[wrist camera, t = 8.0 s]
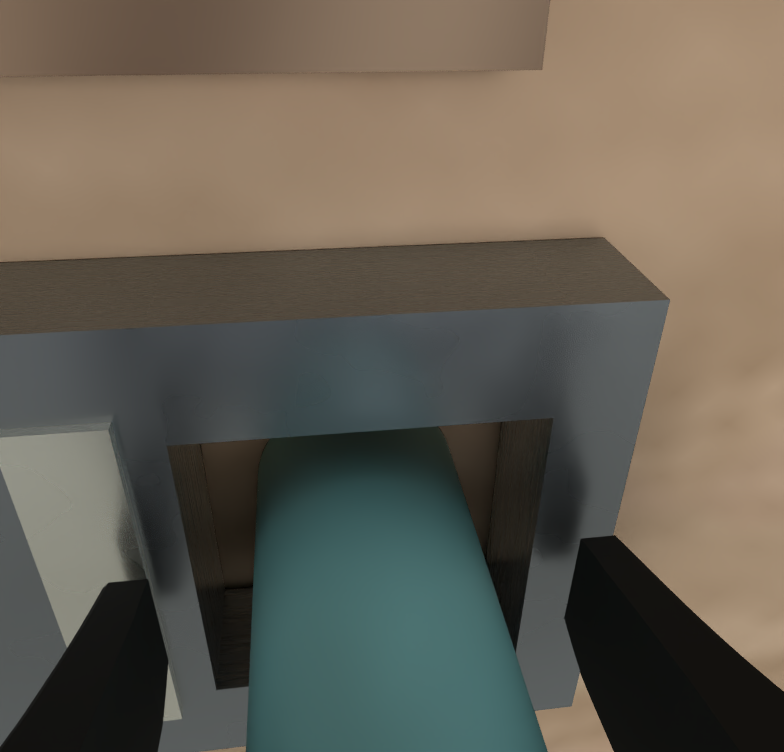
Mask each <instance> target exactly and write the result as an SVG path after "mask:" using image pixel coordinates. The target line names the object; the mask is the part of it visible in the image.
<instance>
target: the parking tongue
mask: <svg viewBox="0 0 784 752" xmlns="http://www.w3.org/2000/svg"><path fill="white" fill-rule="evenodd" d="M549 6H550V0H0V77H12V76H92V75H172V74H252V73H332V72H412V71H492V70H542V67H543V58H544V50H545V41H546V32H547V23H548V14H549Z"/></svg>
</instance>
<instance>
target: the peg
mask: <svg viewBox="0 0 784 752" xmlns="http://www.w3.org/2000/svg"><path fill="white" fill-rule="evenodd" d="M246 752H548V751H547V748H546V745H545V742H544V739H543V736H542V733H541V730H540V727H539V724H538V721H537V717H536V714H535V711H534V708H533V705H532V702H531V699H530V696H529V693H528V690H527V687H526V684H525V681H524V677H523V674H522V671H521V668H520V665H519V662H518V659H517V656H516V653H515V650H514V647H513V644H512V641H511V637H510V634H509V631H508V628H507V625H506V622H505V619H504V616H503V613H502V610H501V607H500V604H499V601H498V597H497V594H496V591H495V588H494V585H493V582H492V579H491V576H490V573H489V570H488V567H487V564H486V561H485V558H484V554H483V551H482V548H481V545H480V542H479V539H478V536H477V533H476V530H475V527H474V524H473V521H472V518H471V514H470V511H469V508H468V505H467V502H466V499H465V496H464V493H463V490H462V487H461V484H460V481H459V478H458V474H457V471H456V468H455V465H454V462H453V459H452V456H451V453H450V450H449V447H448V444H447V442H446V439H445V437H444V435H443V434H442V432H441V430H440V429H439V428H438V426H435V427H421V428H407V429H393V430H379V431H366V432H352V433H338V434H324V435H310V436H296V437H282V438H270V440H269V441H268V443H267V445H266V447H265V449H264V451H263V453H262V456H261V459H260V463H259V470H258V486H257V509H256V531H255V554H254V577H253V600H252V623H251V646H250V669H249V692H248V715H247V738H246Z"/></svg>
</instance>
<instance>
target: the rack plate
mask: <svg viewBox="0 0 784 752" xmlns="http://www.w3.org/2000/svg"><path fill="white" fill-rule="evenodd" d="M669 302H670V299H669V298H668V297H667V296H666V295H664V294H663V293H662V292H661V291H660V290H659V289H658V288H657V287H656V286H655V285H654V284H653V283H652V282H651V281H650V280H649V279H647V278H646V277H645V276H644V275H643V274H642V273H641V272H640V271H639V270H638V269H637V268H636V267H635V266H634V265H633V264H632V263H631V262H629V261H628V260H627V259H626V258H625V257H624V256H623V255H622V254H621V253H620V252H619V251H618V250H617V249H616V248H615V247H614V246H613V245H611V244H610V243H609V242H608V241H607V240H606V239H605V238H590V239H566V240H542V241H518V242H494V243H470V244H446V245H422V246H398V247H374V248H350V249H326V250H302V251H278V252H254V253H229V254H205V255H181V256H157V257H133V258H109V259H85V260H61V261H37V262H13V263H0V746H1V745H2V743H3V742H4V741H5V739H6V738H7V737H8V735H9V734H10V732H11V731H12V730H13V728H14V727H15V726H16V724H17V723H18V721H19V720H20V719H21V717H22V716H23V714H24V713H25V711H26V710H27V708H28V707H29V705H30V704H31V702H32V701H33V699H34V698H35V696H36V695H37V693H38V692H39V690H40V689H41V687H42V686H43V684H44V683H45V681H46V680H47V678H48V677H49V675H50V674H51V672H52V671H53V669H54V668H55V666H56V665H57V663H58V662H59V660H60V659H61V657H62V655H63V654H64V652H65V651H66V649H67V647H68V646H69V644H70V643H71V641H72V639H73V638H74V636H75V634H76V633H77V631H78V630H79V628H80V626H81V625H82V623H83V621H84V620H85V618H86V616H87V614H88V613H89V611H90V609H91V608H92V606H93V604H94V602H95V601H96V599H97V597H98V595H99V594H100V592H101V590H102V588H103V587H104V586H105V585H107V584H108V583H109V582H120V581H130V580H141V579H148V581H149V585H150V589H151V593H152V597H153V601H154V605H155V609H156V613H157V617H158V620H159V624H160V628H161V632H162V636H163V640H164V644H165V648H166V652H167V656H168V660H169V661H168V674H167V686H166V698H165V708H164V718H163V727H162V732H161V737H160V743H159V748H158V752H200V751H208V750H216V749H225V748H233V747H241V746H246V738H247V715H248V692H249V669H250V646H251V623H252V600H253V587H248V588H237V589H227V590H225V586H224V580H223V574H222V569H221V563H220V557H219V551H218V545H217V539H216V534H215V528H214V522H213V516H212V510H211V505H210V499H209V493H208V487H207V481H206V475H205V470H204V464H203V458H202V452H201V446H200V443H213V442H227V441H241V440H255V439H268V438H282V437H296V436H310V435H324V434H338V433H352V432H366V431H379V430H393V429H407V428H421V427H435V426H449V425H463V424H477V423H490V422H502V423H501V432H500V441H499V450H498V459H497V468H496V476H495V485H494V494H493V503H492V512H491V521H490V529H489V538H488V547H487V556H486V564H487V567H488V570H489V573H490V576H491V579H492V582H493V585H494V588H495V591H496V594H497V597H498V601H499V604H500V607H501V610H502V613H503V616H504V619H505V622H506V625H507V628H508V631H509V634H510V637H511V641H512V644H513V647H514V650H515V653H516V656H517V659H518V662H519V665H520V668H521V671H522V674H523V677H524V681H525V684H526V687H527V690H528V693H529V696H530V699H531V702H532V705H533V708H534V711H537V710H545V709H553V708H561V707H569V706H572V702H573V698H574V694H575V690H576V686H577V681H578V677H579V673H580V670H579V666H578V663H577V660H576V657H575V654H574V651H573V647H572V644H571V640H570V637H569V633H568V630H567V626H566V623H565V619H564V616H565V611H566V607H567V602H568V597H569V592H570V588H571V583H572V578H573V573H574V569H575V564H576V559H577V554H578V549H579V545H580V540H581V538H592V537H603V536H613V533H614V529H615V525H616V521H617V516H618V512H619V508H620V504H621V500H622V496H623V492H624V488H625V483H626V479H627V475H628V471H629V467H630V463H631V459H632V455H633V451H634V446H635V442H636V438H637V434H638V430H639V426H640V422H641V418H642V413H643V409H644V405H645V401H646V397H647V393H648V389H649V385H650V380H651V376H652V372H653V368H654V364H655V360H656V356H657V352H658V347H659V343H660V339H661V335H662V331H663V327H664V323H665V319H666V314H667V310H668V306H669Z"/></svg>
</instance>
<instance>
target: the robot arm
mask: <svg viewBox="0 0 784 752" xmlns="http://www.w3.org/2000/svg"><path fill="white" fill-rule="evenodd" d="M564 619H565V623H566V626H567V630H568V633H569V637H570V640H571V644H572V647H573V651H574V654H575V657H576V660H577V663H578V666H579V670H580V673H581V676H582V678H583V681H584V683H585V686H586V688H587V690H588V693H589V695H590V697H591V700H592V702H593V704H594V707H595V709H596V711H597V714H598V716H599V718H600V721H601V723H602V725H603V728H604V730H605V732H606V735H607V737H608V739H609V741H610V744H611V746H612V748H613V751H614V752H784V691H782V690H781V689H780V688H779V687H777V686H776V685H775V684H774V683H773V682H771V681H770V680H769V679H768V678H767V677H766V676H764V675H763V674H762V673H761V672H760V671H758V670H757V669H756V668H755V667H754V666H753V665H751V664H750V663H749V662H748V661H747V660H745V659H744V658H743V657H742V656H741V655H740V654H739V653H738V652H736V651H735V650H734V649H733V648H732V647H731V646H730V645H728V644H727V643H726V642H725V641H724V640H723V639H722V638H721V637H720V636H719V635H718V634H717V633H715V632H714V631H713V630H712V629H711V628H710V627H709V626H708V625H707V624H706V623H705V622H704V621H702V620H701V619H700V618H699V617H698V616H697V615H696V614H695V613H694V612H693V611H692V610H691V609H690V608H689V607H687V606H686V605H685V604H684V603H683V602H682V601H681V600H680V599H679V598H678V597H677V596H676V595H675V594H674V593H673V592H672V591H671V590H670V589H669V588H668V587H667V586H666V585H665V584H664V583H663V582H662V581H661V580H660V579H659V578H658V577H657V576H656V575H655V574H654V573H653V572H652V571H651V570H650V569H649V568H648V567H647V566H646V565H645V564H644V563H643V562H642V561H641V560H639V559H638V558H637V557H636V556H635V555H634V554H633V553H632V552H631V551H630V550H629V549H628V548H627V547H626V546H625V545H624V544H623V543H622V542H621V541H620V540H619V539H618V538H617V537H616V536H615V535H613V536H603V537H592V538H581V540H580V545H579V549H578V554H577V559H576V564H575V569H574V573H573V578H572V583H571V588H570V592H569V597H568V602H567V607H566V611H565V616H564ZM168 661H169V660H168V656H167V652H166V648H165V644H164V640H163V636H162V632H161V628H160V624H159V620H158V617H157V613H156V609H155V605H154V601H153V597H152V593H151V589H150V585H149V581H148V579H141V580H130V581H120V582H109V583H108V584H107V585H105V586H104V587H103V588H102V590H101V592H100V594H99V595H98V597H97V599H96V601H95V602H94V604H93V606H92V608H91V609H90V611H89V613H88V614H87V616H86V618H85V620H84V621H83V623H82V625H81V626H80V628H79V630H78V631H77V633H76V634H75V636H74V638H73V639H72V641H71V643H70V644H69V646H68V647H67V649H66V651H65V652H64V654H63V655H62V657H61V659H60V660H59V662H58V663H57V665H56V666H55V668H54V669H53V671H52V672H51V674H50V675H49V677H48V678H47V680H46V681H45V683H44V684H43V686H42V687H41V689H40V690H39V692H38V693H37V695H36V696H35V698H34V699H33V701H32V702H31V704H30V705H29V707H28V708H27V710H26V711H25V713H24V714H23V716H22V717H21V719H20V720H19V721H18V723H17V724H16V726H15V727H14V728H13V730H12V731H11V732H10V734H9V735H8V737H7V738H6V739H5V741H4V742H3V743H2V745H1V746H0V752H158V748H159V743H160V737H161V732H162V727H163V718H164V708H165V698H166V686H167V674H168Z"/></svg>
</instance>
